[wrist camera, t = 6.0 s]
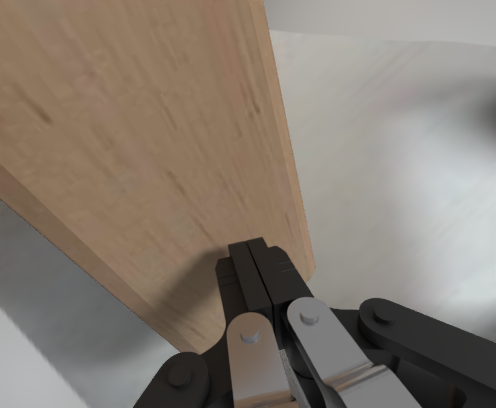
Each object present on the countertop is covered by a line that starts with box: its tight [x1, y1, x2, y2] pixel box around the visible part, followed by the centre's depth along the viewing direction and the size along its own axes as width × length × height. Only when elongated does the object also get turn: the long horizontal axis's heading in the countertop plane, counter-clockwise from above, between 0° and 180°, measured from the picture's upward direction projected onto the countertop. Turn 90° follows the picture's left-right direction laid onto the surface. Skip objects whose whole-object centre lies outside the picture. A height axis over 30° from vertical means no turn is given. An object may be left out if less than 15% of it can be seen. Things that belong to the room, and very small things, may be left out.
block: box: [0, 0, 316, 355], centre depth 14 cm, size 10×10×20 cm
